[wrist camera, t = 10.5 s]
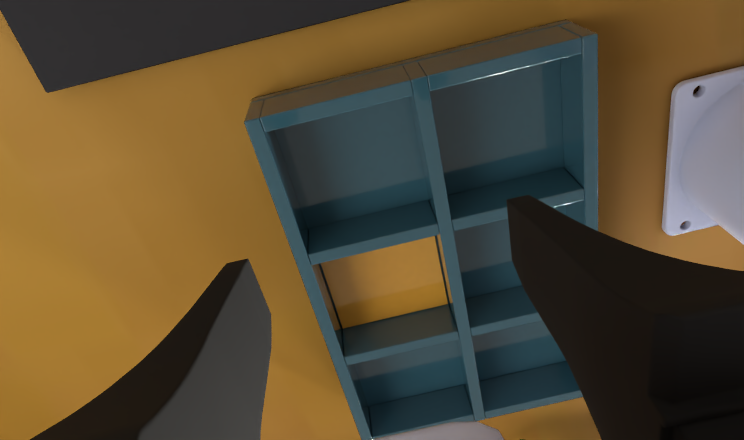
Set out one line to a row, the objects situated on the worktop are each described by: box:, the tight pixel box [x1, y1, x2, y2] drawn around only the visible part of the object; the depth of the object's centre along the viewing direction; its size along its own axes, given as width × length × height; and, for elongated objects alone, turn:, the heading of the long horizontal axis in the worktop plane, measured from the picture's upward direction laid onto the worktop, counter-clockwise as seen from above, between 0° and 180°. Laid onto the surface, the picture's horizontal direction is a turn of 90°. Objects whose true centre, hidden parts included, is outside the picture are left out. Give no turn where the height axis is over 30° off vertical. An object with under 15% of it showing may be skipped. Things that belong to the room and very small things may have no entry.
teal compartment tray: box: [244, 20, 598, 440], centre depth 26 cm, size 13×20×3 cm
